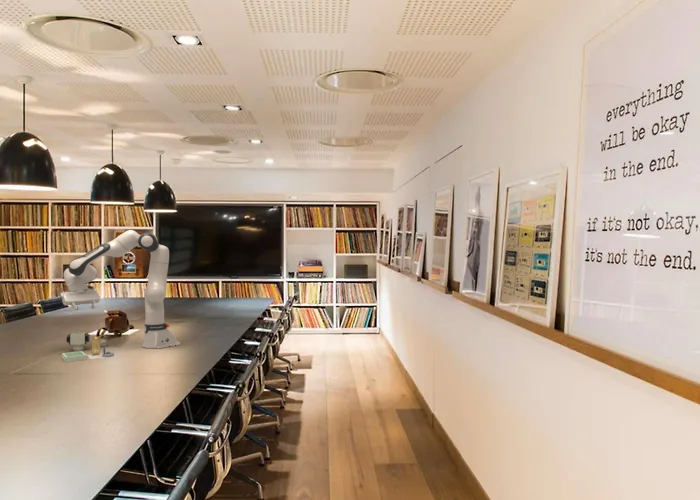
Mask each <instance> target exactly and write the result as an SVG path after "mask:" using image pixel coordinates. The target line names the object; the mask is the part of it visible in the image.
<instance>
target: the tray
mask: <svg viewBox="0 0 700 500" xmlns="http://www.w3.org/2000/svg"><path fill="white" fill-rule="evenodd" d="M87 355H88V354H86V353H85V352H84V351H83V350H79V351H71V352H70V351H69V352H62V353H61V358H62V360H63V361H64V362H65V363H70V362H72V363H73V362H79V361H87V357H88V356H87Z"/></svg>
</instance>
